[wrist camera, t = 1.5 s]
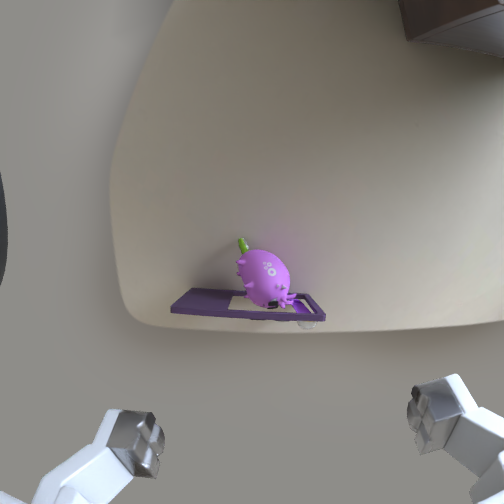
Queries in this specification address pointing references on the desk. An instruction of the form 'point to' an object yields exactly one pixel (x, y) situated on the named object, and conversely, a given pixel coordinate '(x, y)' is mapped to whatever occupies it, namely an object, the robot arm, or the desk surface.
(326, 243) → the desk surface
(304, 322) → the game card
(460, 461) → the robot arm
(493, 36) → the case
